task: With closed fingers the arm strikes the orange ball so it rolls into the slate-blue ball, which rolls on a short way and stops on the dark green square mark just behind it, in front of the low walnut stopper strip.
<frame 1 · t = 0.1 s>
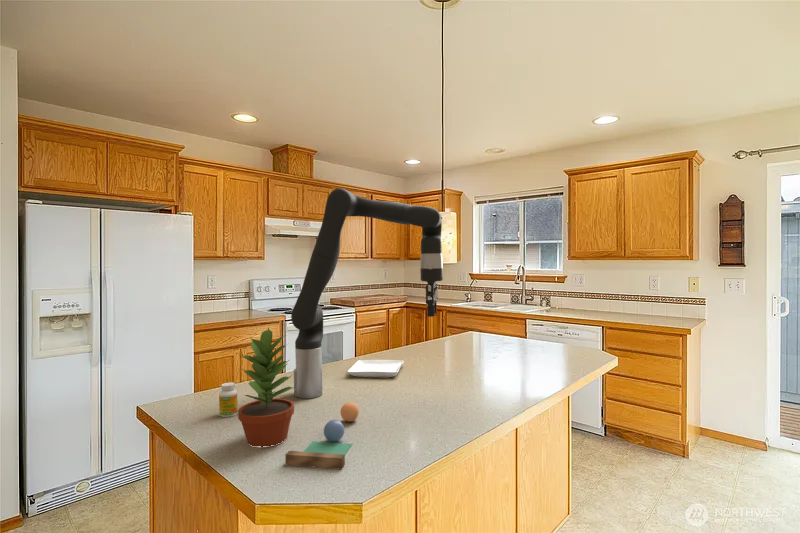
hand: (432, 314, 145), 29 cm above the counter, tool pointing down, fingers open, 8 cm apart
salad plate: (377, 373, 183), on the counter
supplement bottle: (228, 415, 135), on the counter
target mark: (324, 452, 107), on the counter
potted plant: (268, 440, 115), on the counter
stopper wall: (315, 464, 101), on the counter
orange ball: (349, 411, 128), on the counter
object ball: (334, 430, 114), on the counter
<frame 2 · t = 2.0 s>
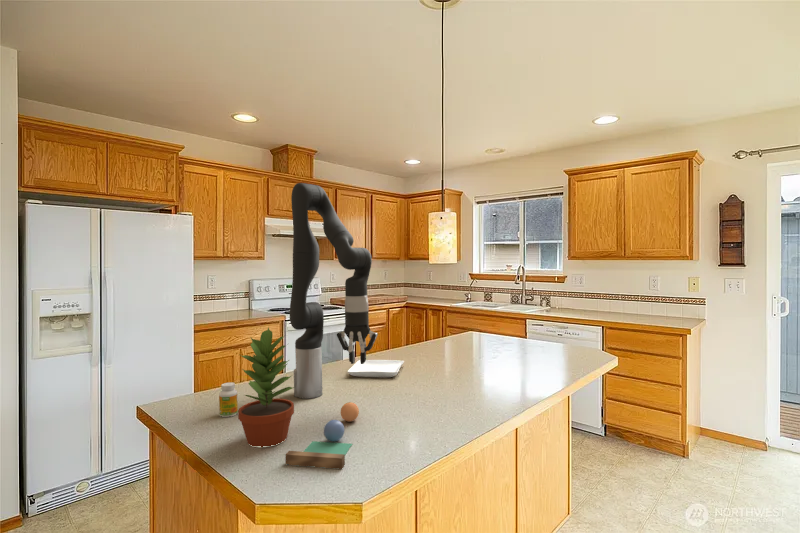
hand: (357, 363, 137), 15 cm above the counter, tool pointing down, fingers closed
nothing on the counter moved.
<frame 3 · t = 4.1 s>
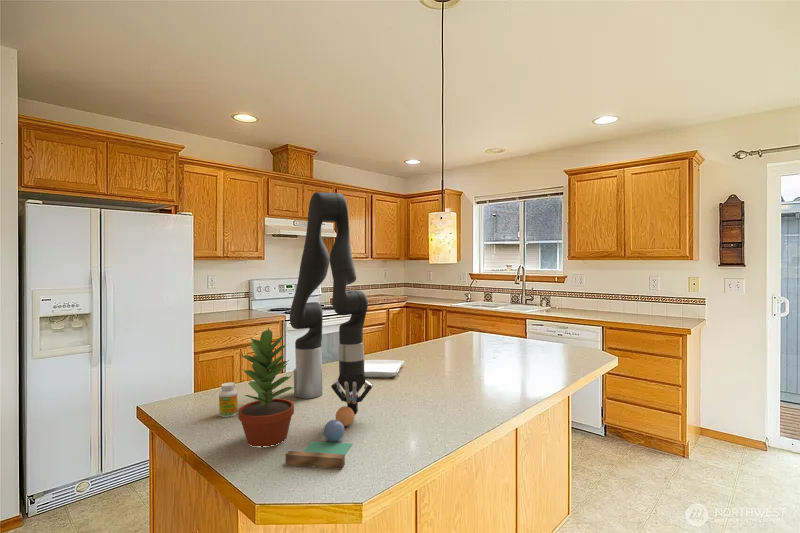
hand: (352, 414, 128), 2 cm above the counter, tool pointing down, fingers closed
orange ball: (345, 416, 124), on the counter, touching gripper
everything else where it was.
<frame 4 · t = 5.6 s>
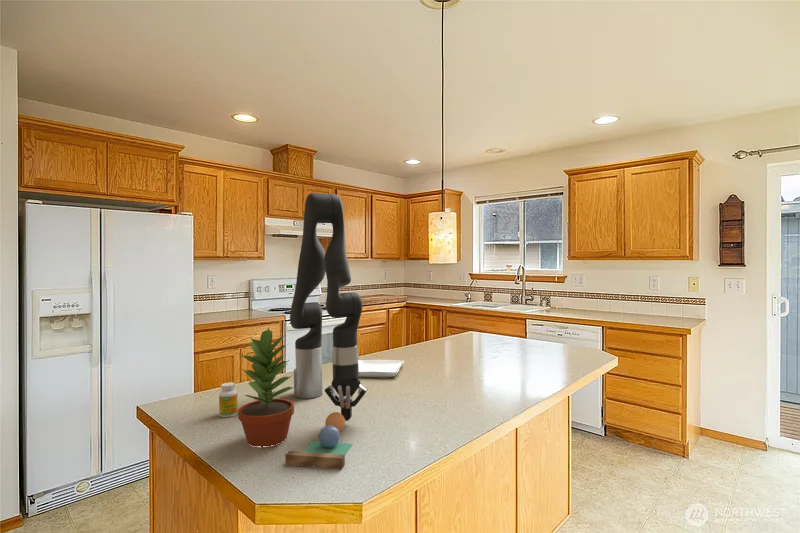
hand: (346, 419, 125), 2 cm above the counter, tool pointing down, fingers closed
orange ball: (335, 422, 119), on the counter
object ball: (329, 436, 110), on the counter
everything else where it was.
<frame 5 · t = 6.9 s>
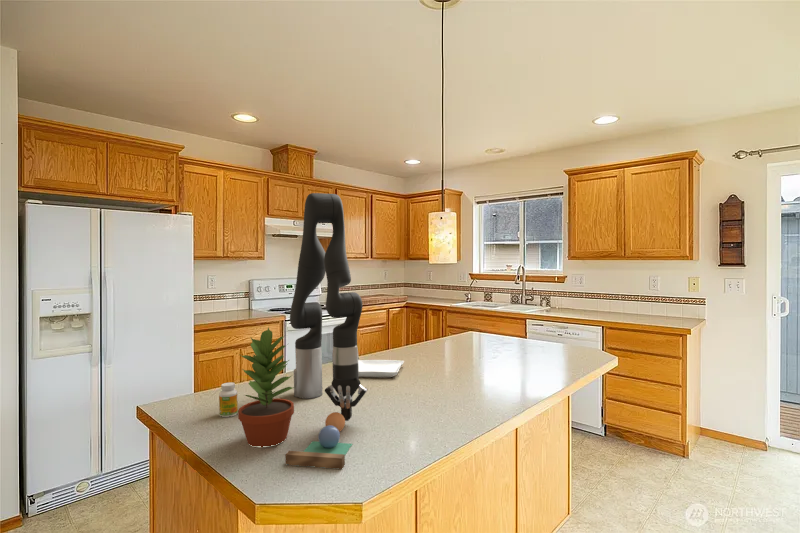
hand: (346, 419, 125), 2 cm above the counter, tool pointing down, fingers closed
nothing on the counter moved.
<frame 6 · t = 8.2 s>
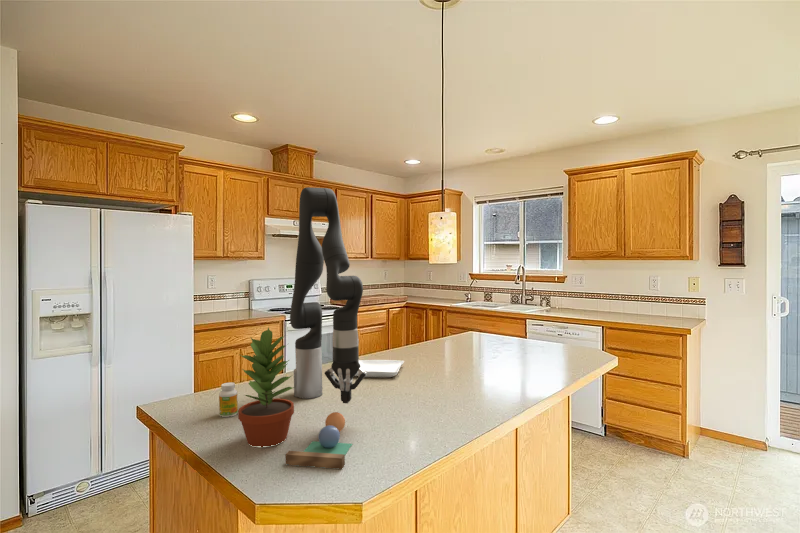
hand: (346, 402, 125), 6 cm above the counter, tool pointing down, fingers closed
nothing on the counter moved.
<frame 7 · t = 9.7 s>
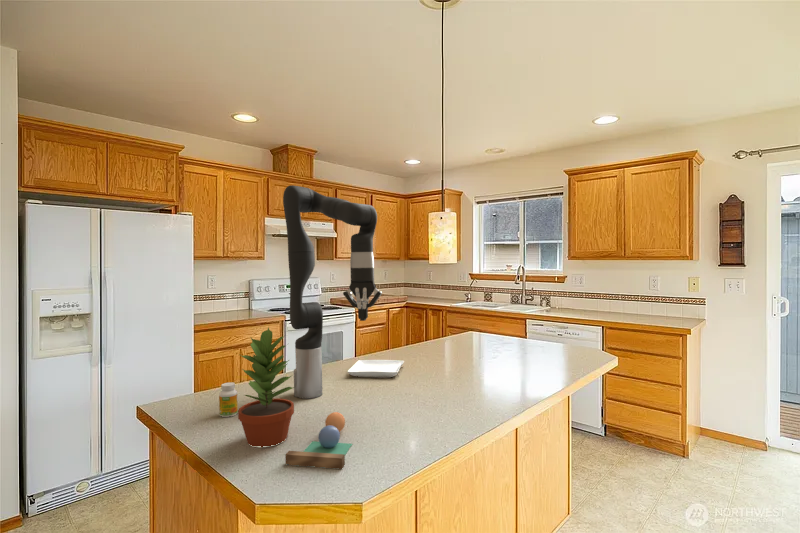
hand: (363, 320, 136), 29 cm above the counter, tool pointing down, fingers closed
nothing on the counter moved.
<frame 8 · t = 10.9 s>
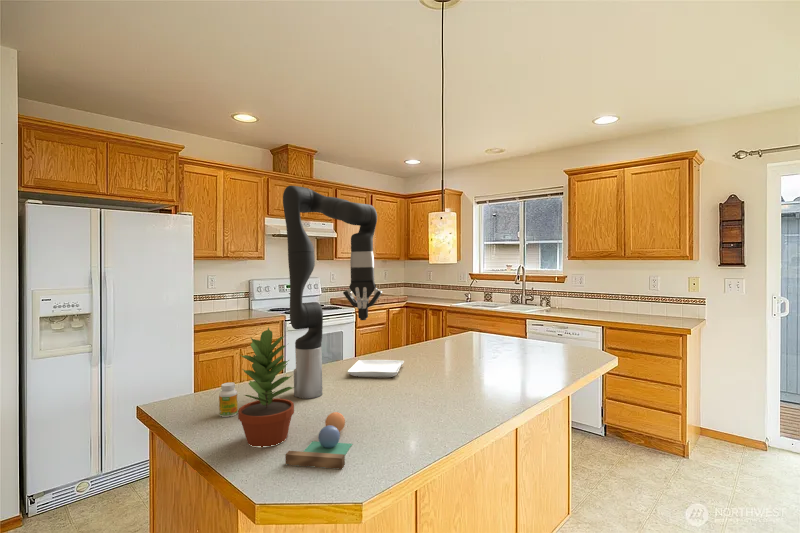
hand: (363, 319, 137), 29 cm above the counter, tool pointing down, fingers closed
nothing on the counter moved.
at the end: object ball 3.1 cm from the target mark (horizontally); object ball never touched the robot; orange ball first touched object ball at 4.4 s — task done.
